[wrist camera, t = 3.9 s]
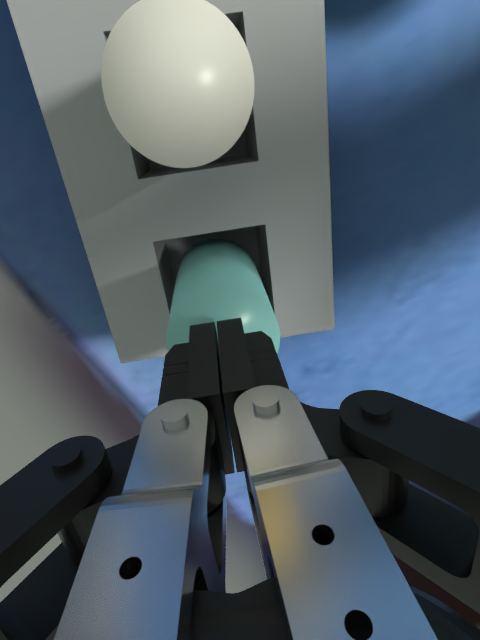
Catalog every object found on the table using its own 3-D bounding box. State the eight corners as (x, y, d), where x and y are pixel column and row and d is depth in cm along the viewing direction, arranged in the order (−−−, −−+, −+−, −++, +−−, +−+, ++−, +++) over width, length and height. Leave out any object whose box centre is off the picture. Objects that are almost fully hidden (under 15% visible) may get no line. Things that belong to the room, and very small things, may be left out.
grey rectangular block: (290, -228, 15) (351, -473, 9) (317, 290, 25) (355, 344, 19) (-16, -187, 15) (-169, -409, 9) (129, 320, 25) (105, 384, 19)
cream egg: (228, 38, 14) (244, -20, 9) (241, 147, 16) (262, 156, 10) (127, 53, 14) (80, 4, 9) (151, 161, 16) (123, 177, 10)
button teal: (252, 232, 17) (274, 279, 12) (260, 307, 19) (284, 379, 13) (169, 245, 17) (154, 298, 12) (185, 319, 19) (178, 396, 13)
